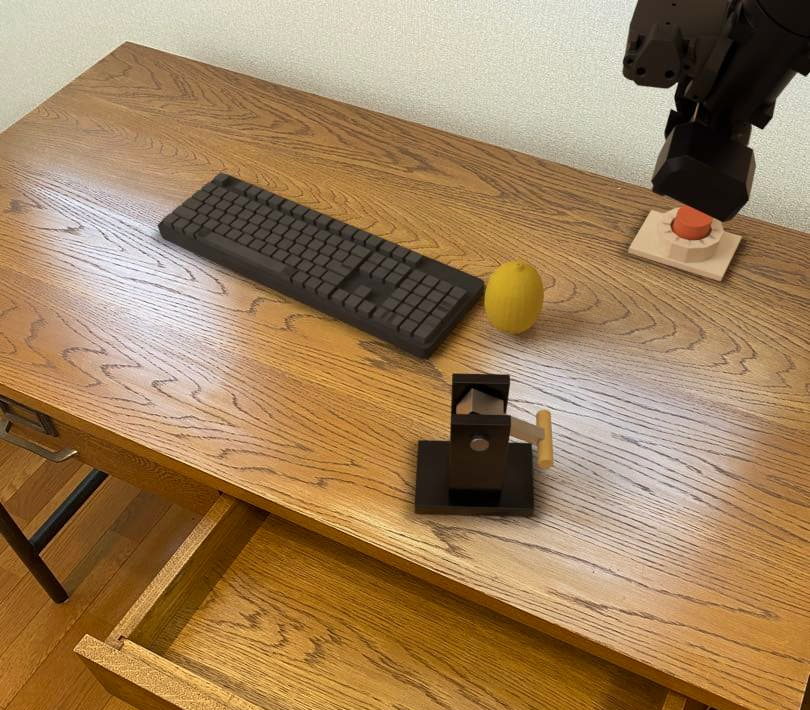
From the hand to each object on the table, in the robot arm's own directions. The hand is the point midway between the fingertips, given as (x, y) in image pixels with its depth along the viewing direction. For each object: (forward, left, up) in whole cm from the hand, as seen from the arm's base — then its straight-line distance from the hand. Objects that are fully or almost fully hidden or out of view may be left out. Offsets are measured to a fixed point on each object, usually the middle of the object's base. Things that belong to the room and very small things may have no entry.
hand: (657, 191), depth 60 cm
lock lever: (+17, +14, -8) cm, 24 cm away
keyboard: (+27, -18, -15) cm, 36 cm away
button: (-11, -10, -13) cm, 20 cm away
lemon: (+10, -3, -15) cm, 19 cm away
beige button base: (-11, -10, -15) cm, 21 cm away
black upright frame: (+19, +14, -15) cm, 28 cm away
